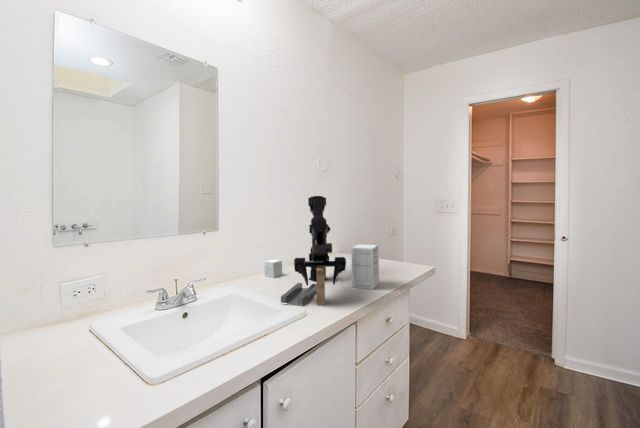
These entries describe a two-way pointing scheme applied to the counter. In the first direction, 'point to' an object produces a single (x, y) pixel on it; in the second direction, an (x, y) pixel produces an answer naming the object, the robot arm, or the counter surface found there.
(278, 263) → the product box
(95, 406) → the counter surface
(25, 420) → the counter surface
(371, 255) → the supplement box
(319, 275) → the brown wooden block
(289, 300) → the bottom track
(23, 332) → the counter surface
